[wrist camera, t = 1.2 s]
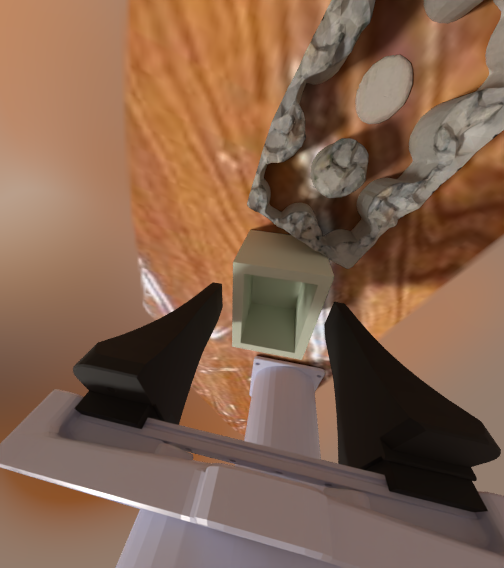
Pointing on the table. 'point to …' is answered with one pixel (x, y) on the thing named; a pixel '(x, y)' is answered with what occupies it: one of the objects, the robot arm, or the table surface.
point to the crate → (277, 293)
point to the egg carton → (373, 110)
